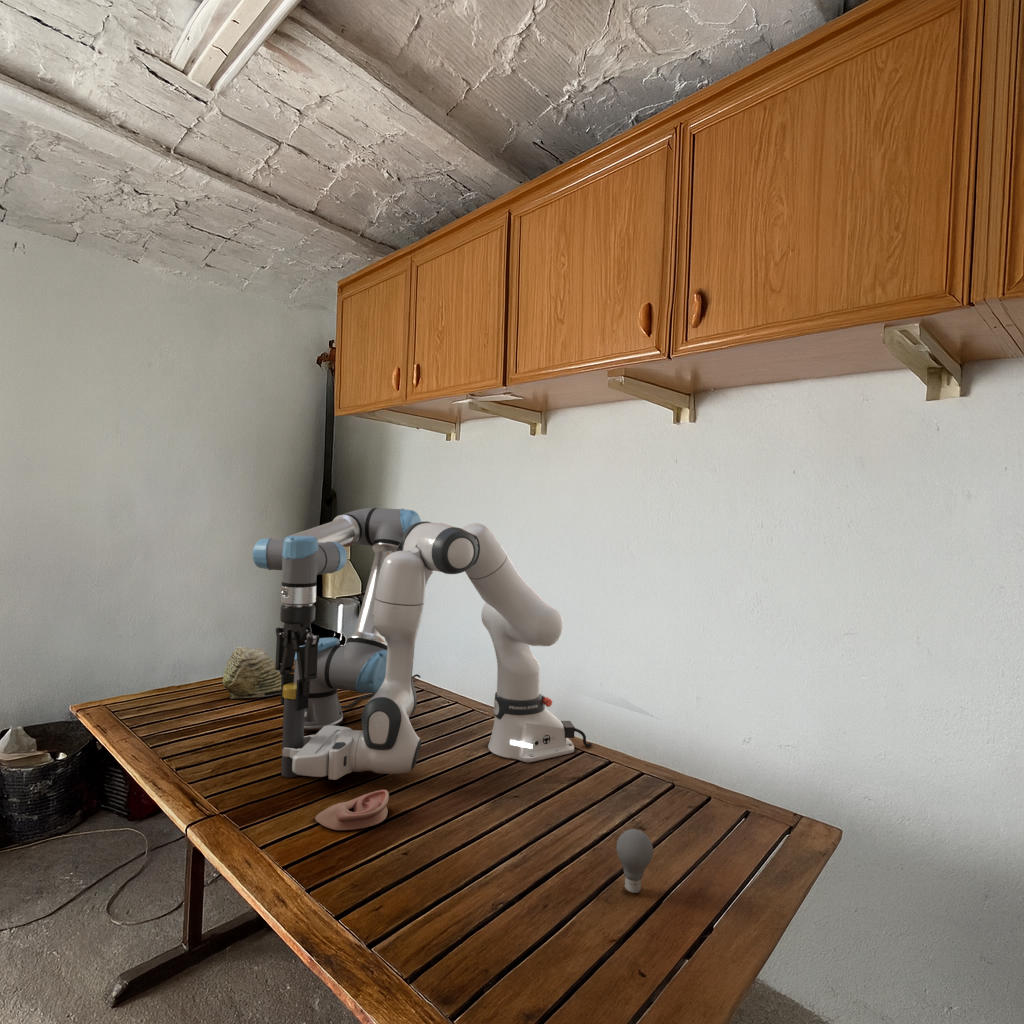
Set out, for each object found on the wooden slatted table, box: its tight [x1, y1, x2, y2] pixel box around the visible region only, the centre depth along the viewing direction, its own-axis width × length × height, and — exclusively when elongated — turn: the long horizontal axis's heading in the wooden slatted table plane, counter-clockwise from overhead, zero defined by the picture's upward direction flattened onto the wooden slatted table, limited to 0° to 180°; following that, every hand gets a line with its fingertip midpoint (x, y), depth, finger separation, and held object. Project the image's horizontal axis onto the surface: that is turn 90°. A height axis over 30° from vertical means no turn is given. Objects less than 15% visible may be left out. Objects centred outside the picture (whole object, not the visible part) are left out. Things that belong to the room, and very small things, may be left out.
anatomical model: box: [314, 789, 390, 831], centre depth 126 cm, size 13×4×12 cm
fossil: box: [222, 646, 281, 699], centre depth 198 cm, size 9×18×15 cm, turn 132°
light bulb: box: [615, 828, 654, 894], centre depth 106 cm, size 6×6×10 cm
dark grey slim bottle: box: [280, 698, 305, 779], centre depth 144 cm, size 4×4×20 cm
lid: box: [282, 682, 297, 699], centre depth 144 cm, size 5×5×2 cm
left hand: (294, 705), depth 144 cm, fingers closed on lid, 5 cm apart
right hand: (288, 746), depth 144 cm, fingers closed on dark grey slim bottle, 4 cm apart
